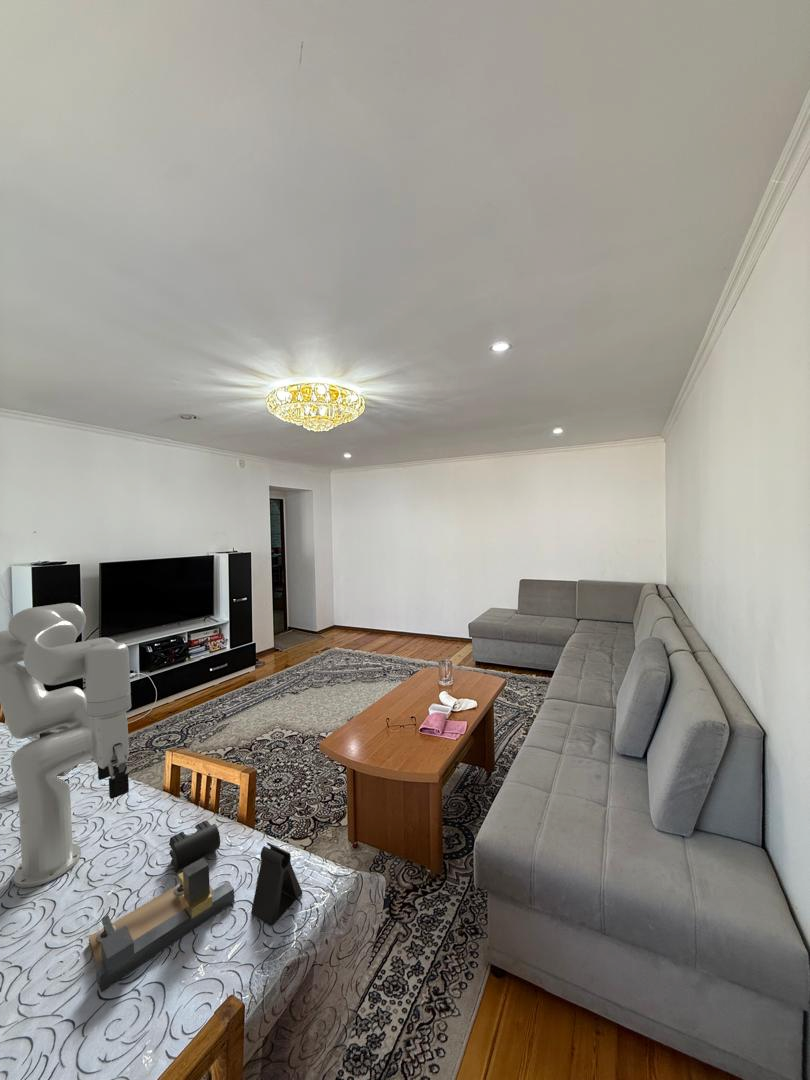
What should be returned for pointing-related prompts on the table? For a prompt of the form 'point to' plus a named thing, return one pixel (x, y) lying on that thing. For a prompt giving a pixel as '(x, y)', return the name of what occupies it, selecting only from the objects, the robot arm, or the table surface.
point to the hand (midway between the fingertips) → (113, 785)
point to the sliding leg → (196, 887)
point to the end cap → (194, 845)
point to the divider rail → (151, 939)
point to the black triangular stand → (275, 885)
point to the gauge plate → (143, 918)
